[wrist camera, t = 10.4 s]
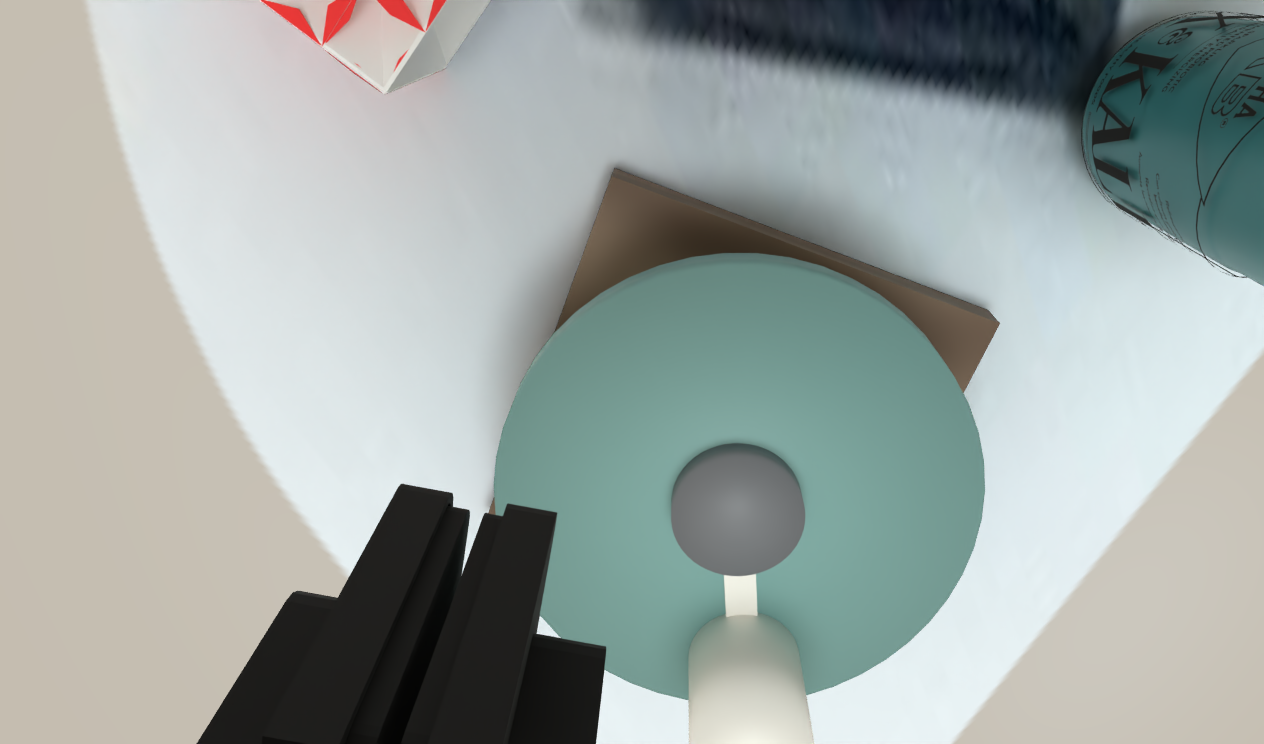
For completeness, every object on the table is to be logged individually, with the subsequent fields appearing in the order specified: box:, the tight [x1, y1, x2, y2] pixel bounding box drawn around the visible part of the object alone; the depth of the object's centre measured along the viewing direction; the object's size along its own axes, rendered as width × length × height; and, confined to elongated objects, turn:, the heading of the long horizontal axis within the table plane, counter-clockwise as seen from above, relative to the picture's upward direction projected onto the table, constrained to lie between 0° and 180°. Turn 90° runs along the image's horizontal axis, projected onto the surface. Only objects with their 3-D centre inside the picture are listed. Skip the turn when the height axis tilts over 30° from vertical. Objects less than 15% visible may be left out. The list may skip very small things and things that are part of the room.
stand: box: [488, 168, 1000, 515], centre depth 37 cm, size 14×14×5 cm
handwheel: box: [494, 253, 985, 744], centre depth 32 cm, size 15×15×6 cm
